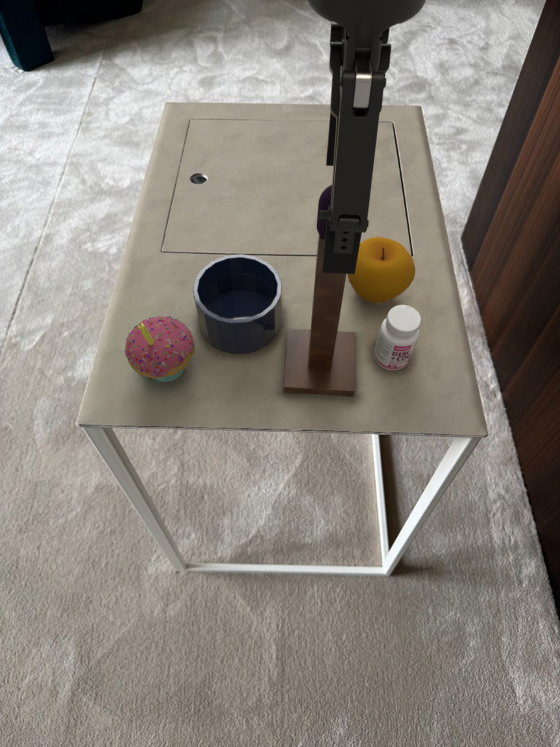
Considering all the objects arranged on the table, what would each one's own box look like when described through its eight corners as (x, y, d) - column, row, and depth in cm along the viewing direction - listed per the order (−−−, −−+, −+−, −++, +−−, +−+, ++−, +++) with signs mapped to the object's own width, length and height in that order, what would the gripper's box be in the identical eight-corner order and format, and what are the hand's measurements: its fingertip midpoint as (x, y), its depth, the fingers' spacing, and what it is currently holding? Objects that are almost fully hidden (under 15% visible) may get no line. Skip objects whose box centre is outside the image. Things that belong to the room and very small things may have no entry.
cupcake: (182, 402, 68) (165, 349, 58) (121, 383, 70) (94, 328, 59) (208, 348, 72) (197, 290, 62) (150, 331, 74) (130, 271, 64)
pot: (194, 352, 72) (186, 320, 66) (206, 286, 78) (200, 251, 72) (278, 357, 72) (278, 325, 66) (284, 290, 78) (284, 256, 72)
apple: (416, 285, 78) (431, 239, 70) (390, 328, 74) (403, 285, 66) (359, 261, 81) (368, 214, 73) (331, 302, 77) (338, 257, 69)
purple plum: (315, 241, 50) (319, 201, 46) (317, 213, 52) (320, 173, 48) (355, 243, 50) (361, 203, 46) (355, 215, 51) (361, 175, 48)
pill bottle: (389, 377, 70) (401, 340, 63) (366, 351, 72) (375, 313, 65) (417, 360, 72) (432, 322, 64) (394, 335, 74) (406, 295, 66)
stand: (282, 392, 69) (284, 261, 48) (287, 334, 74) (290, 192, 53) (353, 397, 69) (385, 267, 48) (353, 338, 73) (382, 197, 53)
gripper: (463, 47, 24) (385, 327, 42) (424, -152, 37) (377, 128, 55) (296, 42, 25) (289, 322, 43) (314, -154, 37) (303, 125, 56)
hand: (339, 213), depth 49 cm, fingers open, 13 cm apart
